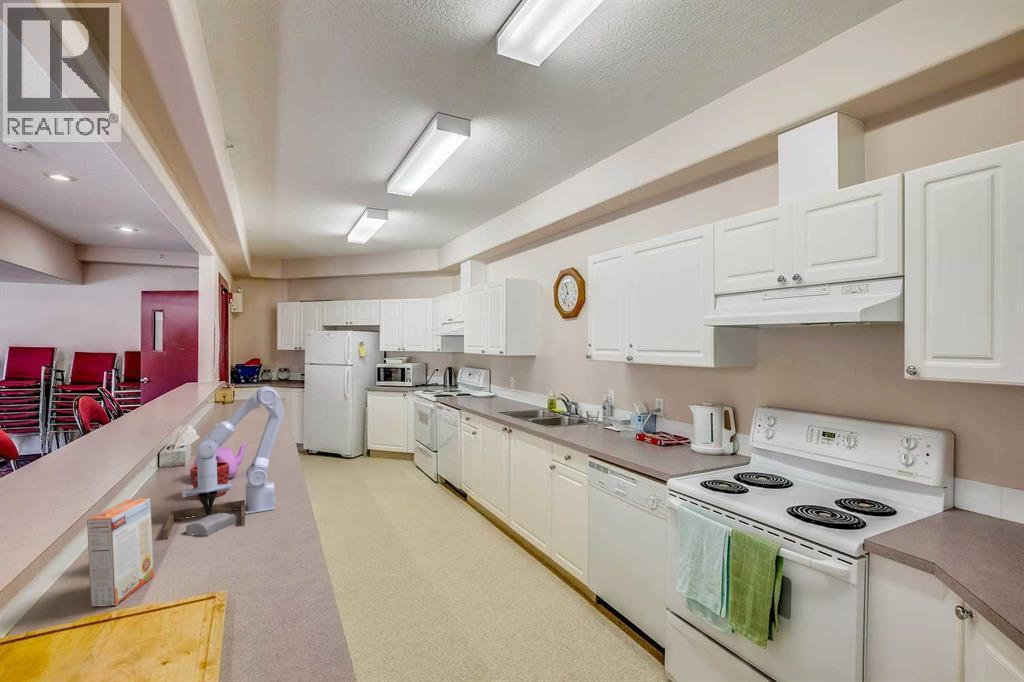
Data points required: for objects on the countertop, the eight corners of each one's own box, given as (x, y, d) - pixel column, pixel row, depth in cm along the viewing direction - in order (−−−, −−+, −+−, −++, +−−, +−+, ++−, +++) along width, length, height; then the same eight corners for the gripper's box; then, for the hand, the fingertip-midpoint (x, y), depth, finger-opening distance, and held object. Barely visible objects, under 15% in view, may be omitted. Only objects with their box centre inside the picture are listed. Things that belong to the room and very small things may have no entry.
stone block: (182, 541, 154) (209, 536, 153) (180, 526, 155) (206, 521, 153) (213, 527, 166) (238, 523, 164) (210, 513, 166) (235, 509, 164)
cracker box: (130, 578, 127) (127, 498, 126) (154, 577, 127) (152, 497, 127) (88, 608, 113) (85, 518, 113) (115, 607, 113) (113, 517, 113)
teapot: (200, 489, 202) (199, 452, 201) (189, 479, 217) (188, 445, 217) (260, 477, 218) (259, 443, 217) (245, 468, 233) (244, 436, 232)
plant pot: (236, 489, 200) (235, 460, 200) (218, 500, 187) (217, 469, 187) (203, 490, 200) (203, 461, 200) (183, 501, 187) (182, 470, 187)
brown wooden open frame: (245, 507, 178) (244, 499, 178) (244, 525, 161) (244, 516, 161) (171, 519, 168) (171, 511, 168) (163, 539, 151) (163, 530, 151)
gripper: (232, 469, 175) (233, 506, 176) (183, 475, 168) (184, 514, 169) (231, 473, 169) (232, 512, 169) (181, 480, 162) (182, 521, 162)
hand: (208, 514), depth 169 cm, fingers closed
